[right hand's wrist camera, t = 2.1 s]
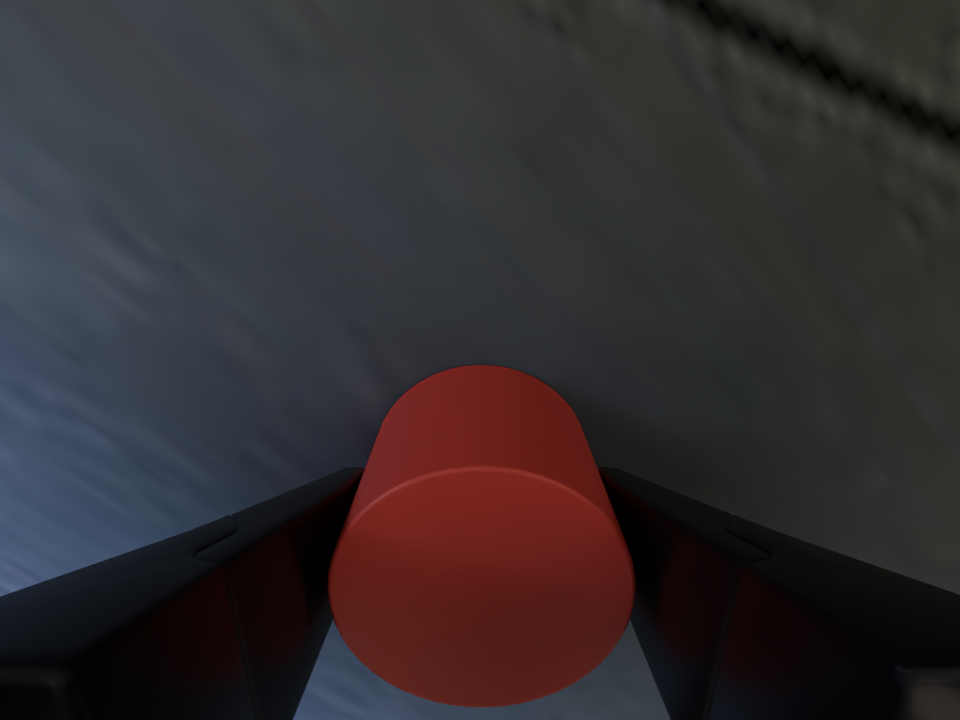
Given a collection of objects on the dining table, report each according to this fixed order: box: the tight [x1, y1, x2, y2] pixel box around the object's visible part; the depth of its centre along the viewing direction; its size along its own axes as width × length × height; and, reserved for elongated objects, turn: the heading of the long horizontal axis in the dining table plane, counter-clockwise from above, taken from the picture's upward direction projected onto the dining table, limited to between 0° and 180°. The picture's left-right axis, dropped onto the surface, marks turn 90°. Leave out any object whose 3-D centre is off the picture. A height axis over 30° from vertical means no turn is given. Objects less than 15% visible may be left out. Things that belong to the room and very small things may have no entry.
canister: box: [328, 365, 636, 707], centre depth 11 cm, size 5×5×4 cm
